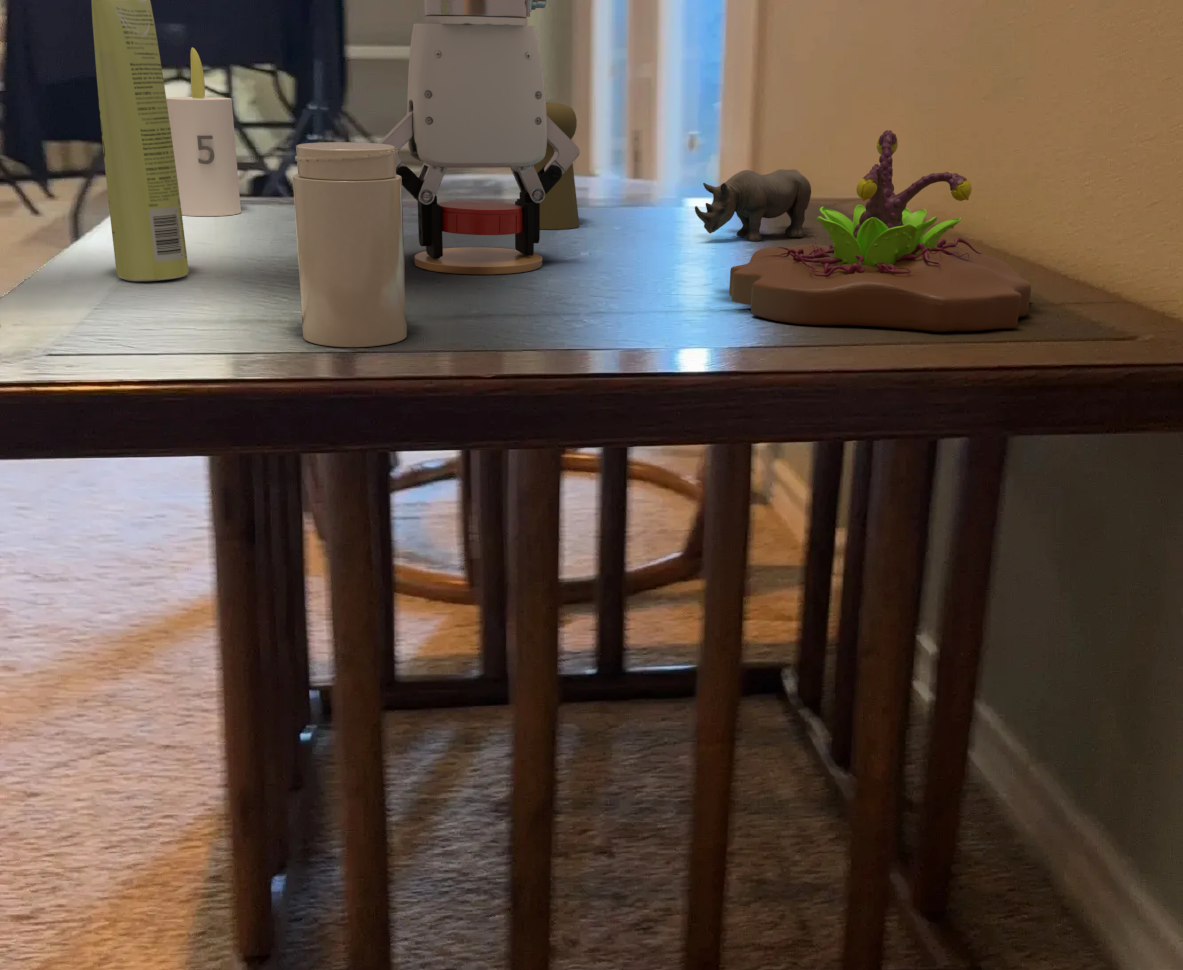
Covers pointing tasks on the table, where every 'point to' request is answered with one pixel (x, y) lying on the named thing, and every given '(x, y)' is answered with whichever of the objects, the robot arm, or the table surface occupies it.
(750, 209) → the rhino figurine
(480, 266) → the coaster
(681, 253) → the table surface
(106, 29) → the tube
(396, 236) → the jar
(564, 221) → the pepper shaker
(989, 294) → the plant
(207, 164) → the candle
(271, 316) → the table surface
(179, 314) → the table surface
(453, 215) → the lid
